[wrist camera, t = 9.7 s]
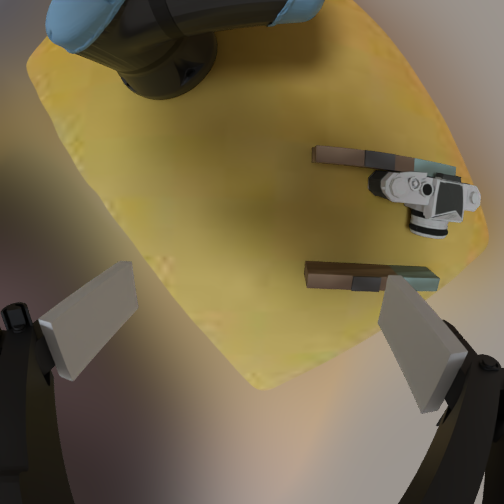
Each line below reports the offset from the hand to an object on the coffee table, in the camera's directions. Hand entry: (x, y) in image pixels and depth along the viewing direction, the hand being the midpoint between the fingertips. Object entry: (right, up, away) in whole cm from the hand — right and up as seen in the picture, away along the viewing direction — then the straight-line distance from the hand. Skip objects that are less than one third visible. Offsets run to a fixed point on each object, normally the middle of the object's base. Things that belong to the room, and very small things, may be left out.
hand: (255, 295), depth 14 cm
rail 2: (+17, -1, +26) cm, 32 cm away
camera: (+23, +10, +23) cm, 34 cm away
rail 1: (+18, +15, +22) cm, 32 cm away
